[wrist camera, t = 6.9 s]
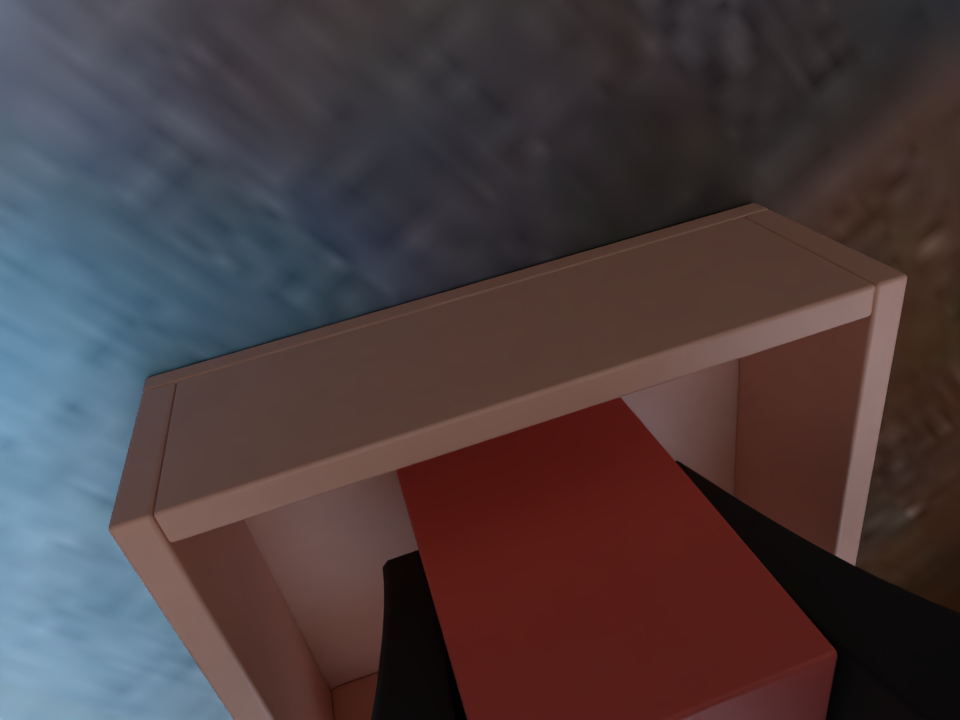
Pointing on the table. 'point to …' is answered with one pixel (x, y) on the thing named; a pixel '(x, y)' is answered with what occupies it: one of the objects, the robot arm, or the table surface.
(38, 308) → the table surface
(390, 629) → the robot arm
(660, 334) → the terracotta bin
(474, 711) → the red block
